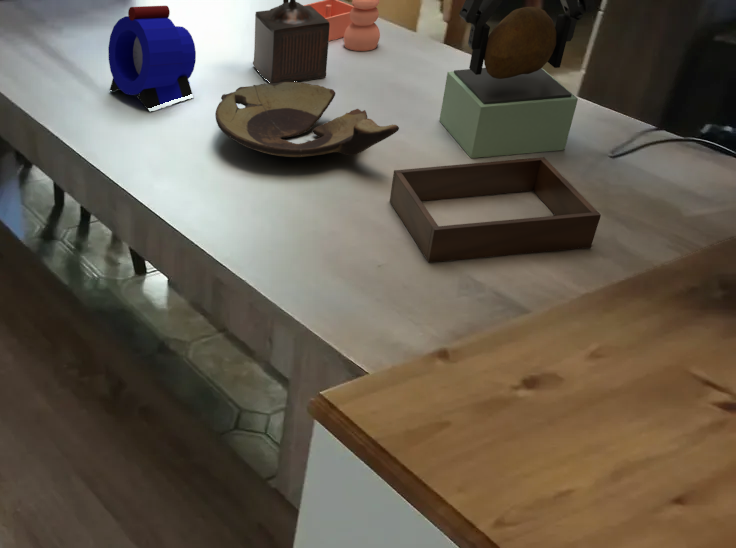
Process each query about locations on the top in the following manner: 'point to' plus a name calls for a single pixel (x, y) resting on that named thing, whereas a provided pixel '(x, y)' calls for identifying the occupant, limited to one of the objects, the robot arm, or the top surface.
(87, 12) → the top surface
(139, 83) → the blue spotlight
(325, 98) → the broken ceramic bowl
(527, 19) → the potato
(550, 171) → the tray
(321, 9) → the pottery
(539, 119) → the stand
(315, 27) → the brown coffee grinder
